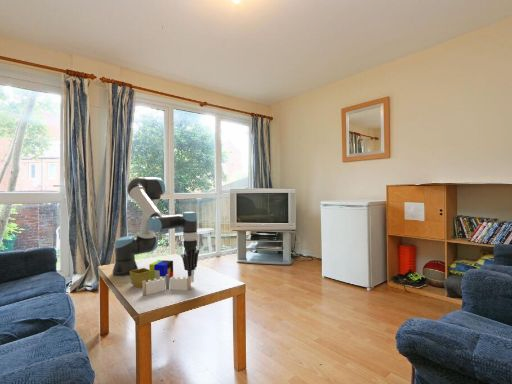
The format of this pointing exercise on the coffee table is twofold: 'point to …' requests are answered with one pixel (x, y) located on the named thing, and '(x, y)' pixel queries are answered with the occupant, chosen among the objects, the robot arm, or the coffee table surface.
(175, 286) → the fence wing
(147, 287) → the fence fixed
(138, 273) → the flower pot
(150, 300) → the coffee table surface
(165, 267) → the puzzle toy
